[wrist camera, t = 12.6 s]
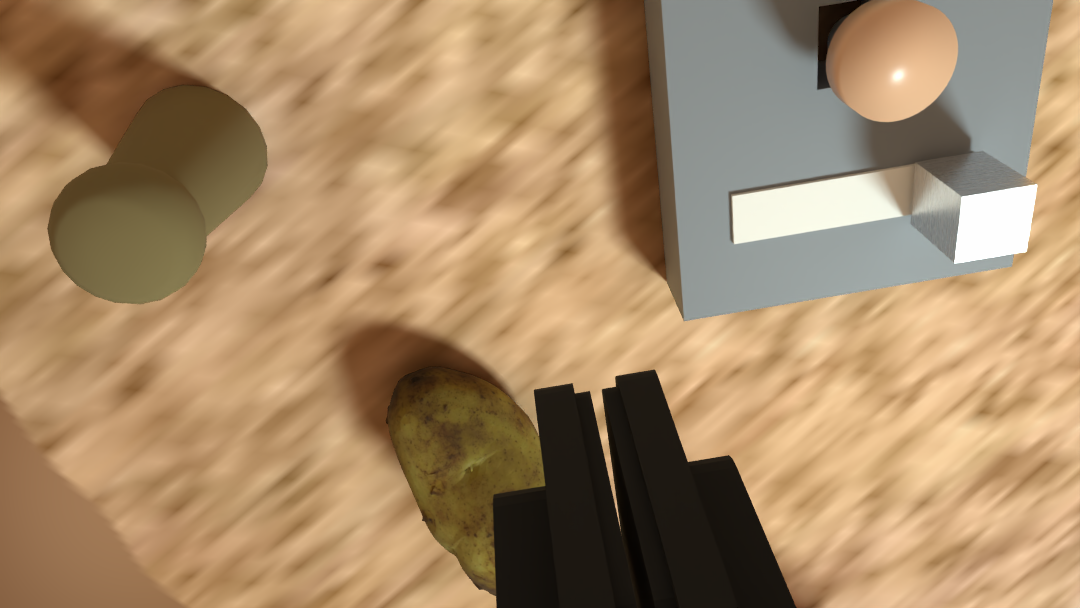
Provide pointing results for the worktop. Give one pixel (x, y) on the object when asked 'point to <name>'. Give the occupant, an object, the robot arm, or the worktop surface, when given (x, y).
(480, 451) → the potato
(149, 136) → the cork
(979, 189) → the slider knob
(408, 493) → the worktop surface
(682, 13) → the panel
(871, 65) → the peach knob
